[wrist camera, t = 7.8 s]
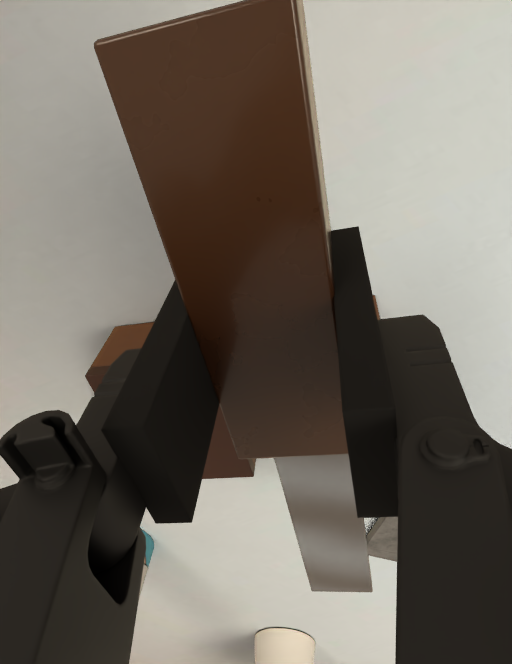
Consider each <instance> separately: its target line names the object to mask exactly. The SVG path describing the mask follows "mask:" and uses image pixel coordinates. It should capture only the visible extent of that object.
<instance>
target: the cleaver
mask: <svg viewBox="0 0 512 664" xmlns="http://www.w3.org/2000/svg"><path fill="white" fill-rule="evenodd" d="M366 541H367V548H368V555H370V556H374V557H379V558H383V559H388V560H392V561H397V545H398V517H379V519H378V520H377V522H376V523H375V524H374V526H373V527H372V529H371V530H370V531H369V533H368V534H367V536H366Z"/></svg>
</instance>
